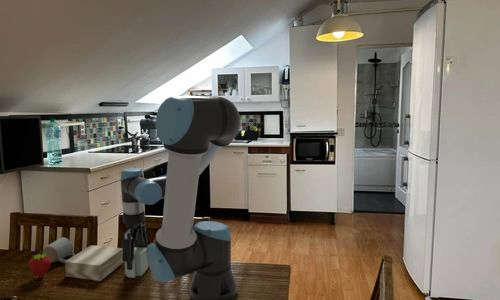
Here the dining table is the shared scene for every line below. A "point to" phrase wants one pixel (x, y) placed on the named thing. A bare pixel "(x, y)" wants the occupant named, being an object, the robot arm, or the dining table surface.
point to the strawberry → (40, 264)
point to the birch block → (94, 262)
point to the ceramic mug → (59, 250)
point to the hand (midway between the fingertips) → (136, 270)
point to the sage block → (139, 261)
